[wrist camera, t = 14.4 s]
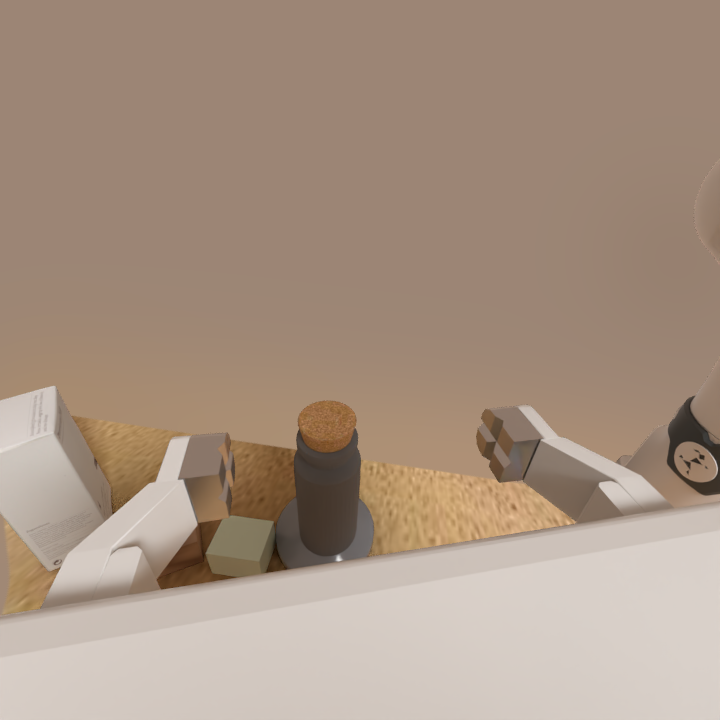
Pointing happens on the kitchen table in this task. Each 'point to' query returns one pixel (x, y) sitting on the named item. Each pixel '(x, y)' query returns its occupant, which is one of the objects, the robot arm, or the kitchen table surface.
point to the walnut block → (187, 553)
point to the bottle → (327, 477)
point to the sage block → (241, 546)
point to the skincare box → (48, 476)
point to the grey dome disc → (300, 556)
